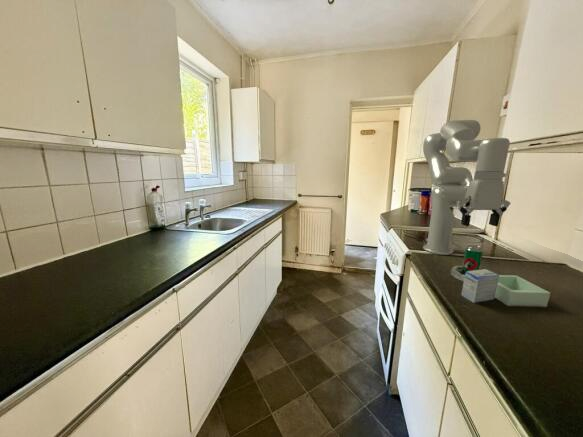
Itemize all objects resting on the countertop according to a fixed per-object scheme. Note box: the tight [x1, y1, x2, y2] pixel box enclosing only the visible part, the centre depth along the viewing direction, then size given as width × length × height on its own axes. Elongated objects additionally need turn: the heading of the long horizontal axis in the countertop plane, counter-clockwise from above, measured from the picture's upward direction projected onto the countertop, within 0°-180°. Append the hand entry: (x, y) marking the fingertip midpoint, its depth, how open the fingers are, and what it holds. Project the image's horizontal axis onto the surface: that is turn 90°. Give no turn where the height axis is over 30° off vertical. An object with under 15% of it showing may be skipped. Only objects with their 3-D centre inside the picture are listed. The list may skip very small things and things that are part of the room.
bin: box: [494, 274, 551, 308], centre depth 73 cm, size 11×11×5 cm
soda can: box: [460, 244, 484, 275], centre depth 85 cm, size 5×5×12 cm
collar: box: [450, 265, 465, 282], centre depth 86 cm, size 11×11×2 cm
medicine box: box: [461, 268, 500, 303], centre depth 72 cm, size 8×4×9 cm, turn 102°
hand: (479, 225), depth 82 cm, fingers open, 9 cm apart
